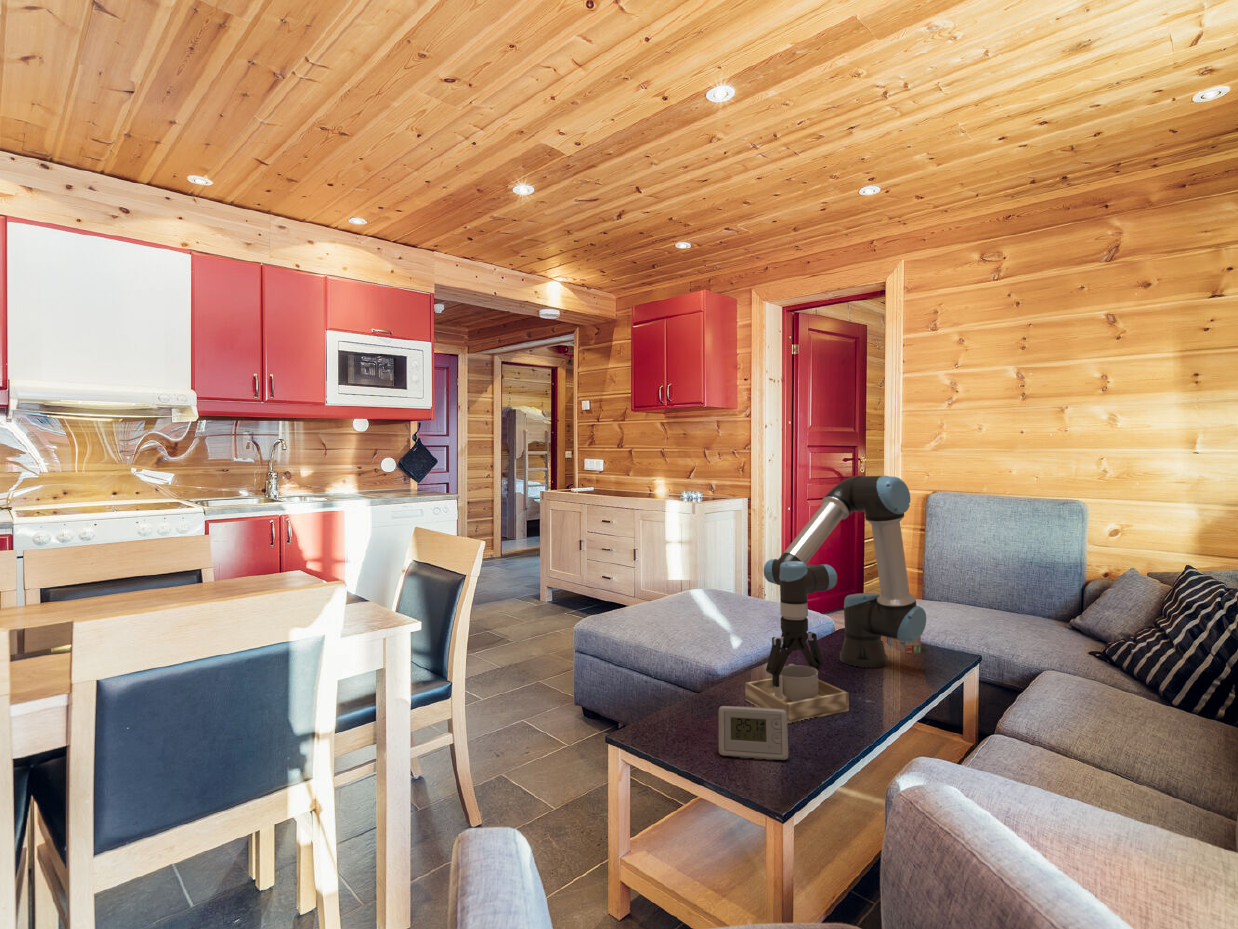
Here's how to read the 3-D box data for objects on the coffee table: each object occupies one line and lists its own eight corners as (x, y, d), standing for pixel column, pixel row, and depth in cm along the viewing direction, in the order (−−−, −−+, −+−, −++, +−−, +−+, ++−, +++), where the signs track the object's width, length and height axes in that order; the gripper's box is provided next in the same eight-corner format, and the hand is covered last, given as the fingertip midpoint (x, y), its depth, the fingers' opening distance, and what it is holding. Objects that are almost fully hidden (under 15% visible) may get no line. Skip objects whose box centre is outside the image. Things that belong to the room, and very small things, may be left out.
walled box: (804, 689, 193) (803, 672, 193) (848, 710, 175) (848, 692, 175) (745, 700, 185) (745, 682, 185) (786, 724, 167) (785, 705, 167)
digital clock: (715, 756, 150) (714, 711, 150) (724, 741, 158) (723, 698, 158) (785, 768, 143) (784, 721, 143) (791, 751, 151) (790, 707, 151)
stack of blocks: (874, 638, 247) (873, 606, 247) (889, 637, 248) (888, 606, 248) (905, 654, 226) (904, 619, 226) (921, 653, 227) (921, 619, 227)
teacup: (820, 706, 173) (820, 677, 173) (779, 704, 175) (779, 675, 175) (815, 688, 186) (814, 661, 186) (777, 687, 188) (776, 660, 188)
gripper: (818, 609, 188) (819, 684, 188) (751, 618, 179) (753, 696, 179) (835, 615, 181) (837, 692, 181) (767, 624, 172) (769, 705, 172)
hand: (795, 694), depth 180 cm, fingers closed on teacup, 11 cm apart
